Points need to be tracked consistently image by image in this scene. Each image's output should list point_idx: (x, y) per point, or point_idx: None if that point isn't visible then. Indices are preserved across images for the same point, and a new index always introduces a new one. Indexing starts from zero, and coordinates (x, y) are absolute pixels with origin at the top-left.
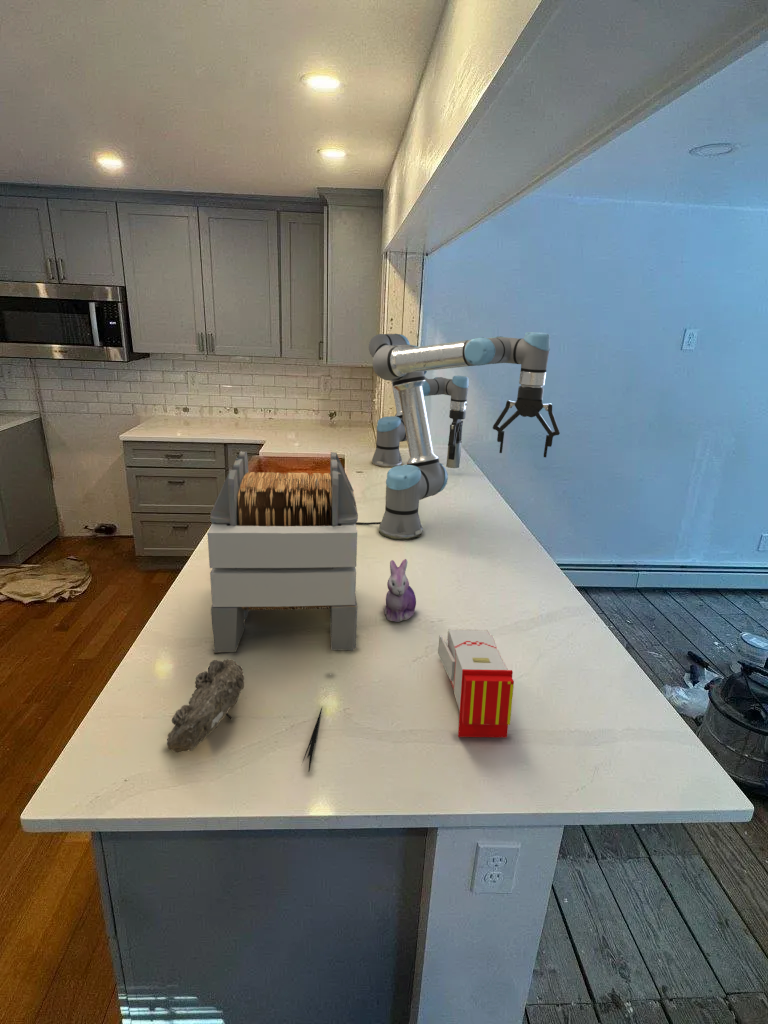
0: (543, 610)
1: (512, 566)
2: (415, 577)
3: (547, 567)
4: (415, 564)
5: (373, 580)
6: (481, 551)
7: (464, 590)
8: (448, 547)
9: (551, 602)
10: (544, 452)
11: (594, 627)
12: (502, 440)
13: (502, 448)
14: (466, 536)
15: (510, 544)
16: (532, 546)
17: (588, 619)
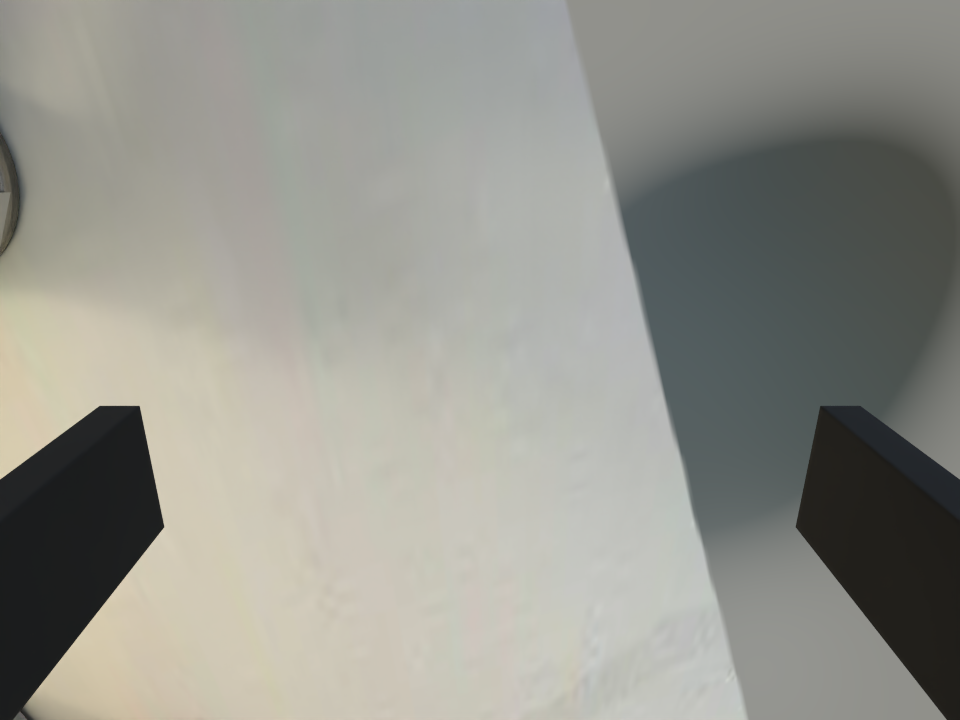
0: (595, 654)
1: (495, 388)
2: (169, 579)
3: (641, 350)
4: None
5: None
6: (349, 275)
7: (347, 613)
8: (195, 281)
9: (624, 606)
10: (837, 577)
11: (728, 696)
12: (16, 692)
13: (115, 448)
14: (239, 98)
15: (478, 132)
16: (591, 119)
17: (721, 664)
